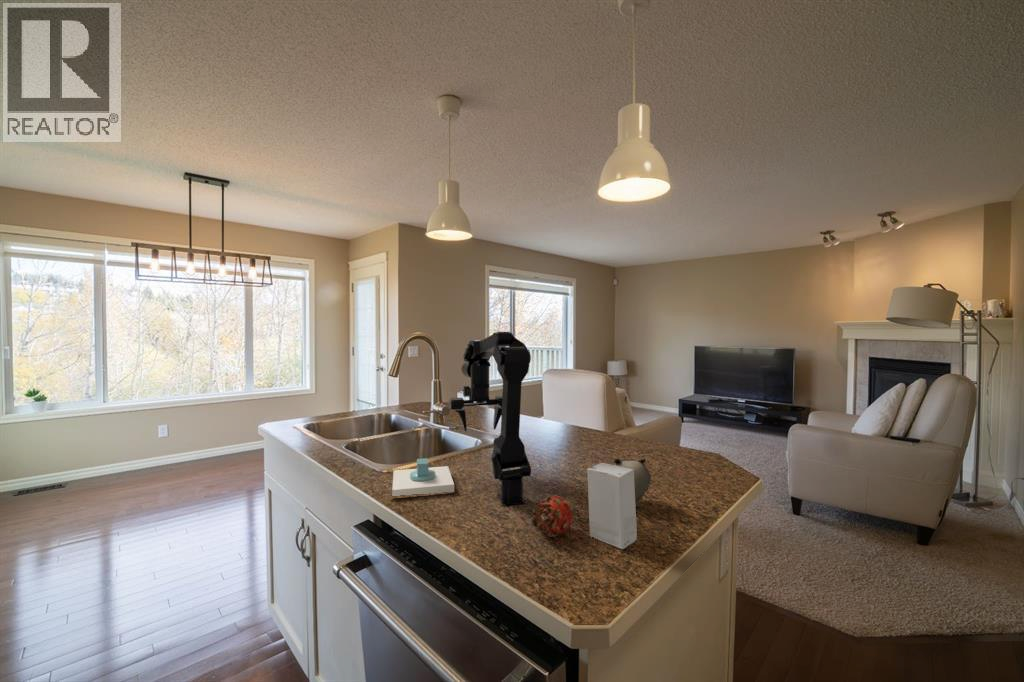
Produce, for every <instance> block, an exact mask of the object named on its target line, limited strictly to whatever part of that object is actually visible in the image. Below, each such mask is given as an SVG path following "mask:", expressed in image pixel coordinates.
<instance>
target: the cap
mask: <svg viewBox="0 0 1024 682" xmlns="http://www.w3.org/2000/svg"><path fill="white" fill-rule="evenodd" d="M429 468H430V467H429V459H428V457H427V458H417V459H416V469H417V470H416V471H413V472H411V473H410V479H411V480H413V481H428V480H431V479H433V478H435V471H433V470H429Z"/></svg>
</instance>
